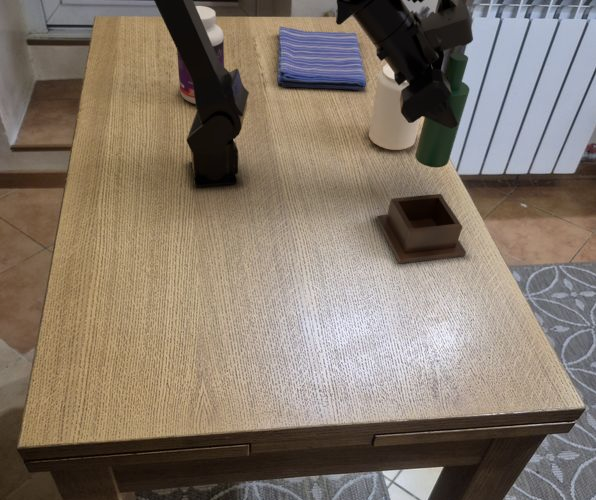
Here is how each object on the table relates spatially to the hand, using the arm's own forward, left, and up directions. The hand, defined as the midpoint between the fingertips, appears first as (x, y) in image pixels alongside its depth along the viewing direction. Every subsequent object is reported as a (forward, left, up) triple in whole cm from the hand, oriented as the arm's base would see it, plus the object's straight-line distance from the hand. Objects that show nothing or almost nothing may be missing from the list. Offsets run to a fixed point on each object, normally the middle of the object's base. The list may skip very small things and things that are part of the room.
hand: (452, 116), depth 87 cm
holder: (-6, -9, -13) cm, 17 cm away
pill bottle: (-31, +36, -14) cm, 49 cm away
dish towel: (-5, +47, -14) cm, 49 cm away
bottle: (-1, 0, -7) cm, 7 cm away
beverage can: (-1, +17, -14) cm, 21 cm away
